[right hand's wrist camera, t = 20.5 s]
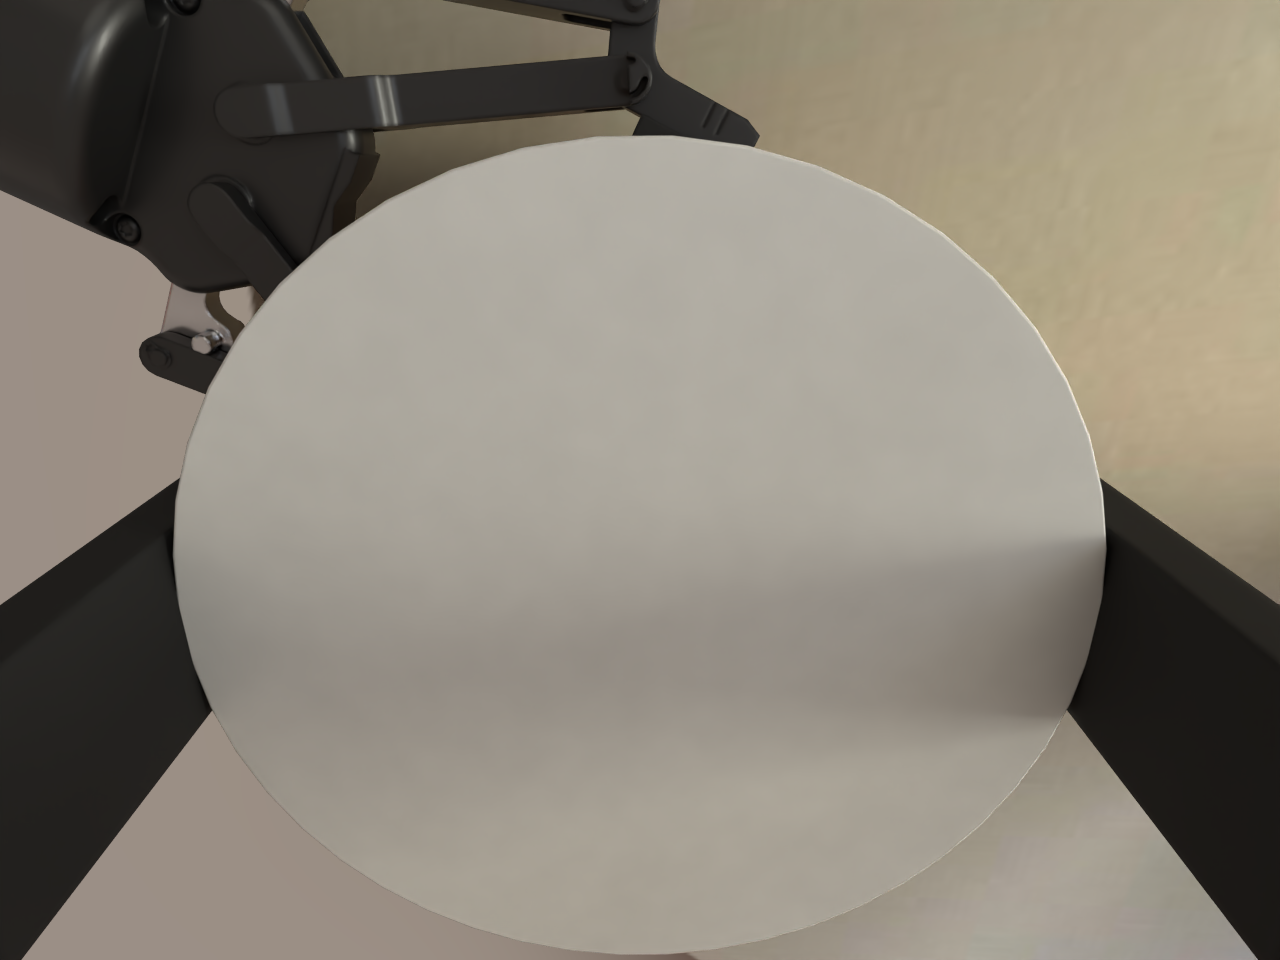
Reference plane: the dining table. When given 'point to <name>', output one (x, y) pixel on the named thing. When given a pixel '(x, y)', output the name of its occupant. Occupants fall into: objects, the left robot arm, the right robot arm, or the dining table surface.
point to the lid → (639, 544)
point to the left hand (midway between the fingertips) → (743, 396)
